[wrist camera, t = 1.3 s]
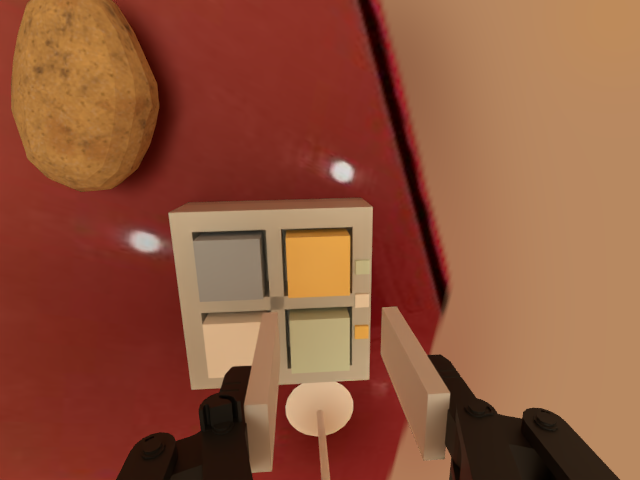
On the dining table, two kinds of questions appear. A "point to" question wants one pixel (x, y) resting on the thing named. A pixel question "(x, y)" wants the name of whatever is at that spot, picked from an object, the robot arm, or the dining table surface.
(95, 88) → the potato
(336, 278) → the key amber
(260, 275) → the key slate
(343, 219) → the keypad
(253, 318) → the key ivory
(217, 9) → the dining table surface
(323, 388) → the wineglass
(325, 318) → the key sage
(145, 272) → the dining table surface
